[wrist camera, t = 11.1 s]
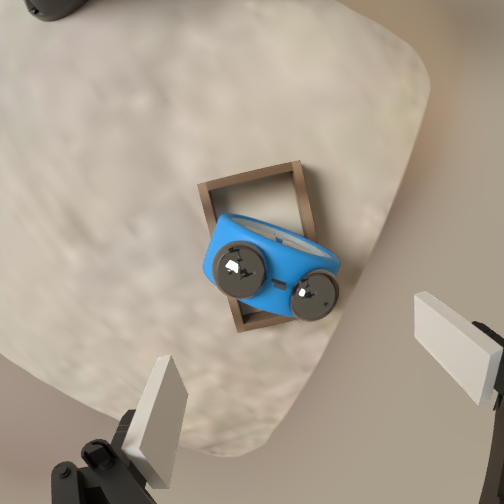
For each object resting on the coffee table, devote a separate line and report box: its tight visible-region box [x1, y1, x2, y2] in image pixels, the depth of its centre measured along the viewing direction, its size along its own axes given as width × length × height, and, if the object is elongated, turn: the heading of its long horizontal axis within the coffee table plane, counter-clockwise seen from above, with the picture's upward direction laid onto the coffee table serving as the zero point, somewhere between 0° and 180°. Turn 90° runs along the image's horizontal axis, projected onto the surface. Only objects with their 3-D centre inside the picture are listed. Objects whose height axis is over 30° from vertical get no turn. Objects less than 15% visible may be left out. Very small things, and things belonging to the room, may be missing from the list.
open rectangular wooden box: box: [197, 160, 318, 333], centre depth 39 cm, size 19×12×4 cm, turn 13°
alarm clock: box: [203, 213, 340, 322], centre depth 31 cm, size 13×6×15 cm, turn 70°
